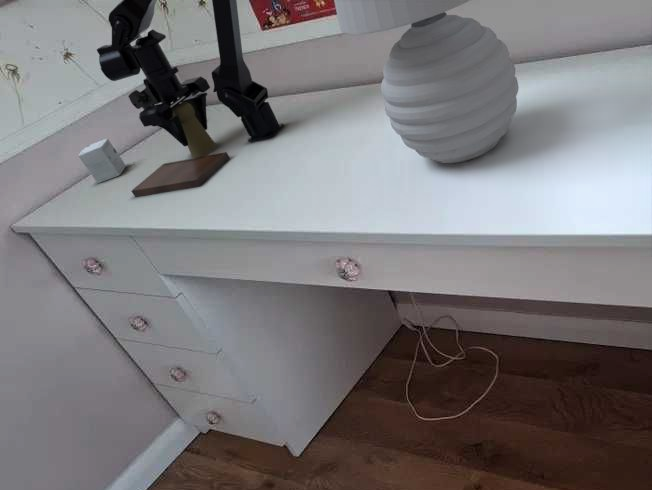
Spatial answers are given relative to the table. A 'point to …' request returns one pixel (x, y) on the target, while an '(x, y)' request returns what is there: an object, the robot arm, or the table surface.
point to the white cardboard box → (102, 160)
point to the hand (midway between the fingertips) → (196, 137)
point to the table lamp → (439, 76)
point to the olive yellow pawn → (194, 131)
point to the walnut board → (181, 174)
